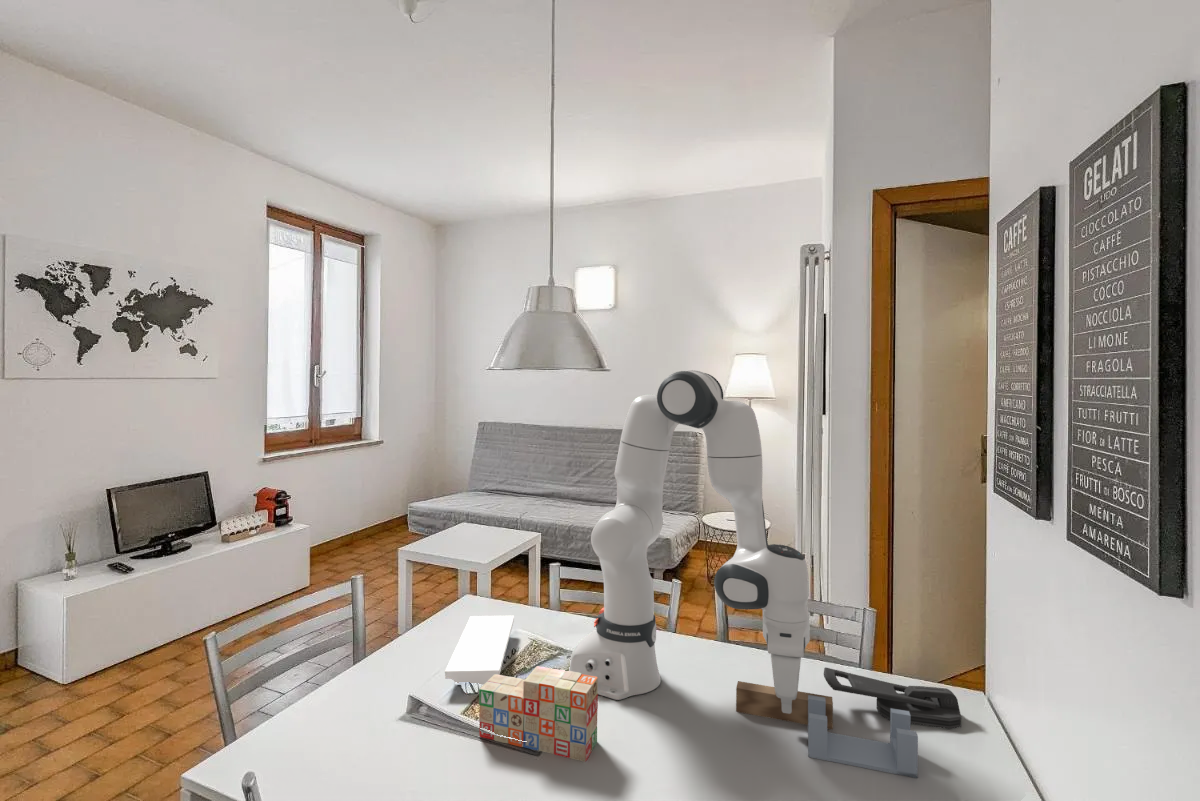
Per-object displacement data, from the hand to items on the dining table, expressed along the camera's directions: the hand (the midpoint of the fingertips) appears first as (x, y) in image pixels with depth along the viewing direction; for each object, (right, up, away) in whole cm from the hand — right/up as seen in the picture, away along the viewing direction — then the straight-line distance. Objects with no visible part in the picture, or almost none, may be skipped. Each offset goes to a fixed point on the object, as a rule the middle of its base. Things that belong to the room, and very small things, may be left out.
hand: (786, 699), depth 114 cm
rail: (-1, -4, 0) cm, 4 cm away
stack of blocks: (-48, -4, -8) cm, 49 cm away
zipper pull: (+21, -4, +2) cm, 22 cm away
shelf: (-65, -3, +23) cm, 69 cm away
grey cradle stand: (+9, -4, -12) cm, 15 cm away
